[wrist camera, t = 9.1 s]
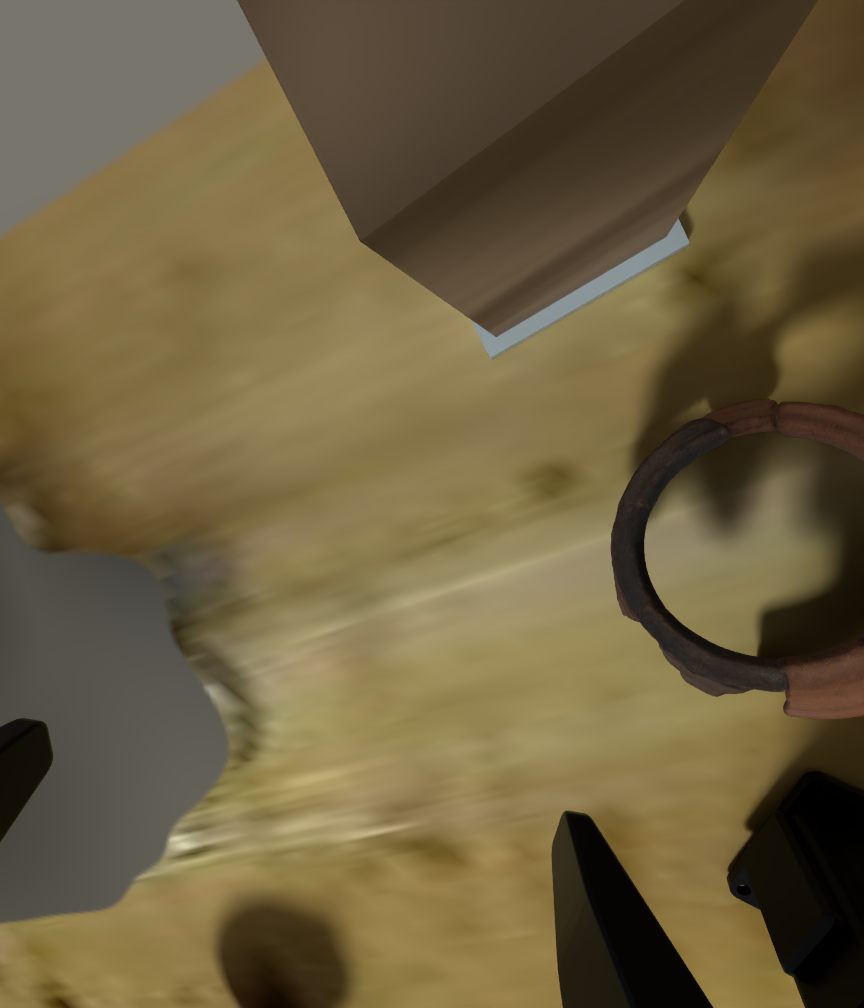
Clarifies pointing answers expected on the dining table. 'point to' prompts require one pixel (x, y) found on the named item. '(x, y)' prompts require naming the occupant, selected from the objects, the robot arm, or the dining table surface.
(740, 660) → the brown curved piece
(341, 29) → the walnut block
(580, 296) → the slate-blue tile
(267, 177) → the dining table surface
